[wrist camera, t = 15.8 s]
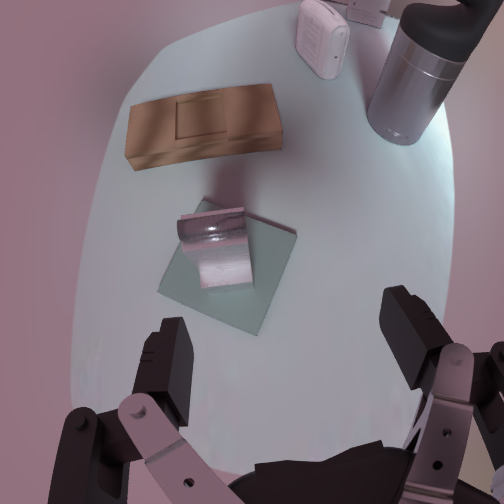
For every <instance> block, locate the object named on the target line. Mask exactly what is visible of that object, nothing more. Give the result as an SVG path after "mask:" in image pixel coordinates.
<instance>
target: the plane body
mask: <svg viewBox="0 0 504 504" xmlns="http://www.w3.org/2000/svg"><path fill="white" fill-rule="evenodd" d="M282 133H283V130H282V126H281V122H280V117H279V113H278V109H277V105H276V101H275V98H274V94H273V90H272V86H271V84H259V85H249V86H240V87H231V88H223V89H216V90H209V91H203V92H197V93H191V94H185V95H180V96H175V97H170V98H165V99H160V100H155V101H151V102H146V103H142V104H138V105H134V106H131V109H130V115H129V122H128V130H127V138H126V146H125V157H126V159H127V160H128V162H129V163H130V165H131V166H132V168H133V169H134V171H139V170H143V169H148V168H154V167H159V166H164V165H170V164H175V163H181V162H187V161H193V160H199V159H206V158H213V157H220V156H227V155H234V154H242V153H251V152H259V151H269V150H279V149H281V145H282Z"/></svg>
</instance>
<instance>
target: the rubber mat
mask: <svg viewBox="0 0 504 504" xmlns="http://www.w3.org/2000/svg"><path fill="white" fill-rule="evenodd" d="M224 209H226V208H223V207H220V206H217V205H215V204H212V203H209V202H206V201H204V200H202V201H201V203H200V205H199V207H198V209H197V211H196V213H202V212H209V211H217V210H224ZM245 223H246V231H247V239H248V247H249V254H250V262H251V270H252V278H253V286H254V289H251V290H243V291H235V292H227V293H218V294H210V295H208V294H207V293H206V292H205V291H204V290H203V289H202V288H201V282H200V273H199V271H198V270H197V269H196V268H195V266H194V265H193V264H192V263H191V262H190V260H189V259H188V258H187V257H186V255H185V254H184V253H183V251H182V241H181V243H180V245H179V247H178V249H177V251H176V253H175V255H174V257H173V259H172V261H171V263H170V265H169V267H168V269H167V272H166V274H165V276H164V278H163V280H162V282H161V284H160V286H159V289H158V291H157V292H159V293H161V294H163V295H165V296H167V297H169V298H171V299H173V300H175V301H177V302H180V303H182V304H184V305H186V306H188V307H190V308H193V309H195V310H197V311H199V312H201V313H204V314H206V315H208V316H210V317H213V318H215V319H217V320H220V321H222V322H224V323H226V324H229V325H231V326H233V327H236V328H238V329H241V330H243V331H245V332H248V333H250V334H253V335H255V336H257V334H258V332H259V330H260V327H261V325H262V323H263V320H264V318H265V315H266V313H267V311H268V308H269V306H270V303H271V301H272V299H273V296H274V294H275V291H276V289H277V286H278V284H279V281H280V279H281V277H282V274H283V272H284V269H285V267H286V264H287V262H288V259H289V257H290V254H291V252H292V249H293V247H294V244H295V241H296V239H297V235H295V234H292V233H289V232H287V231H284V230H282V229H279V228H276V227H274V226H271V225H269V224H266V223H263V222H261V221H258V220H255V219H253V218H250V217H247V216H245Z"/></svg>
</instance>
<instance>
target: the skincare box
mask: <svg viewBox="0 0 504 504" xmlns="http://www.w3.org/2000/svg"><path fill="white" fill-rule="evenodd" d="M389 4H390V0H349V1H348V6H347V20H350V21H355V22H359V23H363V24H367V25H371V26H374V27H377V28H382V25H383V22H384V19H385V16H386V13H387V10H388V7H389Z"/></svg>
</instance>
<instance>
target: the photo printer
mask: <svg viewBox="0 0 504 504" xmlns="http://www.w3.org/2000/svg"><path fill="white" fill-rule="evenodd" d="M349 36H350V28H349V26H348V24H347V22H346V21H345V20H344V18H343V17H342V16H341V15H340V14H339V13H338V12H337V11H336V10H335V9H334V8H332V7H331V6H330V5H328V4H327V3H325V2H323V1H320V0H304V1H303V2H302V3H301V5H300V7H299V17H298V28H297V38H296V50H297V52H298V53H299V55H300V56H301V57H302V58H303V59H304V60H305V62H306V63H307V64H308V65H309V66H310V67H311V68H312V70H313V71H314V72H315V73H316V74H317V75H318V76H319V77H320V78H323V79H325V80H332V79H335V78H336V77H337V75H339V74H340V71H341V68H342V64H343V60H344V56H345V52H346V48H347V44H348V40H349Z"/></svg>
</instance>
